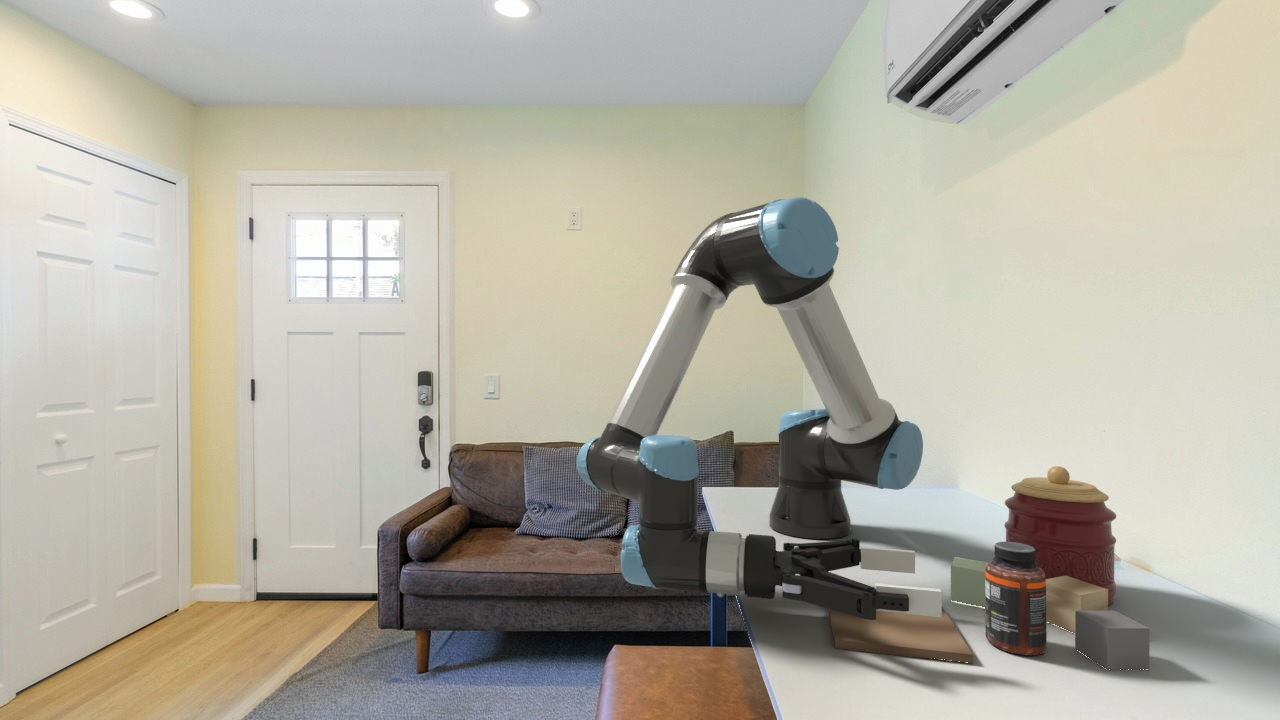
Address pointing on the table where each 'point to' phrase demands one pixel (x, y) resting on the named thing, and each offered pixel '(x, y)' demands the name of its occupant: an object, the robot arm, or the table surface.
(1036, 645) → the supplement bottle
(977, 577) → the sage block
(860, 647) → the plate
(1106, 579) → the canister
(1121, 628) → the grey block
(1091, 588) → the beech block
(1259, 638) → the table surface
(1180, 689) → the table surface
